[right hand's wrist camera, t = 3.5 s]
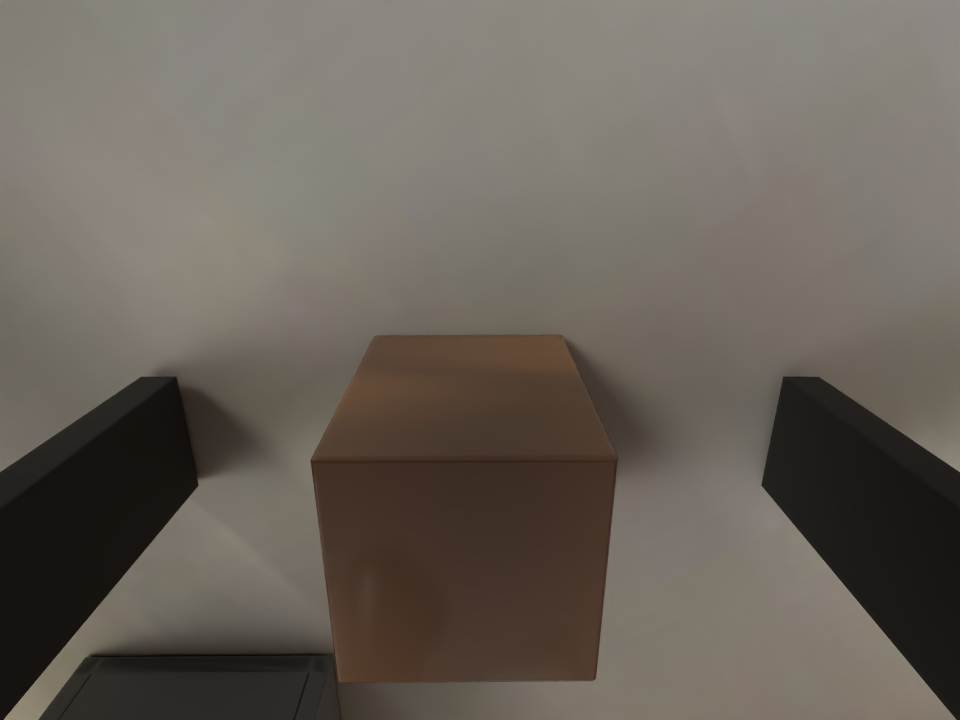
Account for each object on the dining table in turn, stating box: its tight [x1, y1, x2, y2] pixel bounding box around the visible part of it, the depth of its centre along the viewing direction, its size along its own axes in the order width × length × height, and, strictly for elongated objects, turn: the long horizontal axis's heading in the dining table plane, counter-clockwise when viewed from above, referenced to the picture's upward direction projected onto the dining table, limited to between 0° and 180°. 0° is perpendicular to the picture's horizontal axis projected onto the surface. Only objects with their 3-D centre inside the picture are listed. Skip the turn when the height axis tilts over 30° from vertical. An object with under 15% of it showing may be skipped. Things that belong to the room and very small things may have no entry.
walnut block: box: [311, 335, 618, 683], centre depth 10 cm, size 4×4×5 cm
